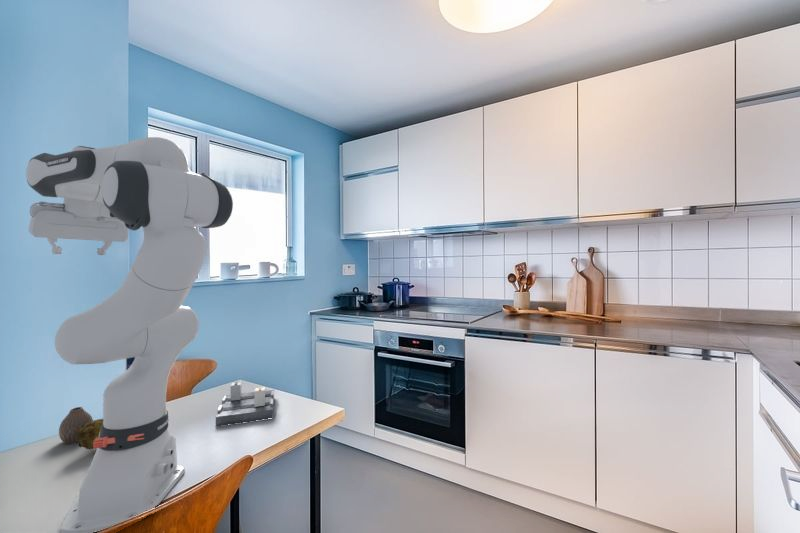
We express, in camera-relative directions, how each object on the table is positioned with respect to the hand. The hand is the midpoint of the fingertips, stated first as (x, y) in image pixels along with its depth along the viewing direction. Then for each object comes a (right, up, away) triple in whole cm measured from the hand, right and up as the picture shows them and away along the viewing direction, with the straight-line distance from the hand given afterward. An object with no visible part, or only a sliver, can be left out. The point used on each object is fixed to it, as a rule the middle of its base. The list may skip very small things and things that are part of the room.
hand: (79, 254), depth 96 cm
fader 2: (+45, -48, +14) cm, 68 cm away
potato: (+13, -52, -5) cm, 54 cm away
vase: (+1, -52, -2) cm, 52 cm away
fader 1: (+35, -48, +19) cm, 63 cm away
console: (+40, -52, +17) cm, 68 cm away
